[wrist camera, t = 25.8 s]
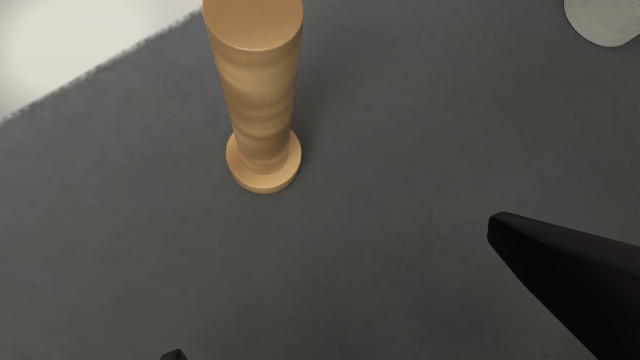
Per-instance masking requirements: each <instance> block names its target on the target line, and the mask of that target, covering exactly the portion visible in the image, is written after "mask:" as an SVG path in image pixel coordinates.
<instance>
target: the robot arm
mask: <svg viewBox="0 0 640 360" xmlns="http://www.w3.org/2000/svg"><path fill="white" fill-rule="evenodd" d="M487 239H488V242H489V244H490V245H491V246H492V248H493V249H494V250H495V251H496V252H497V254H498V255H499V256H500V257H501V259H502V260H503V261H504V262H505V263H506V265H507V266H508V267H509V268H510V269H511V271H512V272H513V273H514V274H515V275H516V277H517V278H518V279H519V280H520V281H521V282H522V284H523V285H524V286H525V287H526V288H527V289H528V290H529V291H530V292H531V293H532V294H533V295H534V296H535V297H536V298H537V299H538V300H539V301H540V302H541V303H542V304H543V305H544V306H545V307H546V308H547V309H548V310H549V311H550V312H551V313H552V314H553V315H554V316H555V317H556V318H557V319H558V320H559V321H560V322H561V323H562V324H563V325H564V326H565V327H566V328H567V329H568V330H569V331H570V332H571V333H572V334H573V335H574V336H575V337H576V338H577V339H578V340H579V341H580V342H581V343H582V344H583V345H584V346H585V347H586V348H587V349H588V350H589V351H590V352H591V353H592V354H593V355H594V356H595V357H596V358H597V359H598V360H640V247H639V246H635V245H631V244H627V243H623V242H619V241H616V240H612V239H608V238H604V237H600V236H596V235H593V234H589V233H585V232H581V231H577V230H573V229H570V228H566V227H562V226H558V225H554V224H550V223H547V222H543V221H539V220H535V219H531V218H527V217H524V216H520V215H516V214H512V213H508V212H499V213H497V214H494V215H492V216H491V217H490V218H489V223H488V233H487ZM160 360H187V358H186V356H185V355H184V353H183V352H182V351H181V350H180V349H176V350H173V351H171V352H169V353H166V354H164V355H163V356H162V357H161V358H160Z"/></svg>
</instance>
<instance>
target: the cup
mask: <svg viewBox="0 0 640 360" xmlns="http://www.w3.org/2000/svg"><path fill="white" fill-rule="evenodd" d="M564 9H565V13H566V16H567V18H568V20H569V22H570V23H571V25H572V26H573V28H574V29H575V30H576V31H577V32H578V33H579V34H580V35H582V36H583V37H584V38H586V39H587V40H589V41H591V42H593V43H595V44H598V45H601V46H606V47H616V46H620V45H623V44H625V43H626V42H628V41H629V40H631V39H632V38H634V37H635V36H636V35H638V34H639V33H640V0H564Z"/></svg>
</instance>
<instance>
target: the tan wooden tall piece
mask: <svg viewBox="0 0 640 360" xmlns="http://www.w3.org/2000/svg"><path fill="white" fill-rule="evenodd" d="M202 11H203V17H204V21H205V24H206V28H207V32H208V36H209V40H210V43H211V47H212V51H213V55H214V59H215V63H216V66H217V70H218V74H219V78H220V82H221V85H222V89H223V93H224V97H225V101H226V104H227V108H228V112H229V116H230V120H231V123H232V127H233V131H234V132H233V134H232V135H231V137H230V139H229V141H228V144H227V148H226V160H227V164H228V166H229V169H230V171H231V174H232V176H233V178H234V179H235V181H236V182H237V183H238V184H239V185H240V186H241V187H243V188H244V189H246V190H248V191H250V192H252V193H256V194H272V193H276V192H279V191H281V190H283V189H284V188H286V187H287V186H288V185H289V184H291V182H292V181H293V180H294V179H295V177H296V175H297V173H298V170H299V166H300V161H301V146H300V143H299V140H298V138H297V137H296V135H295V134H294V132H293V131H292V130H291V124H292V115H293V106H294V98H295V89H296V80H297V72H298V63H299V55H300V46H301V37H302V29H303V20H304V7H303V3H302V0H203V5H202Z"/></svg>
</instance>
